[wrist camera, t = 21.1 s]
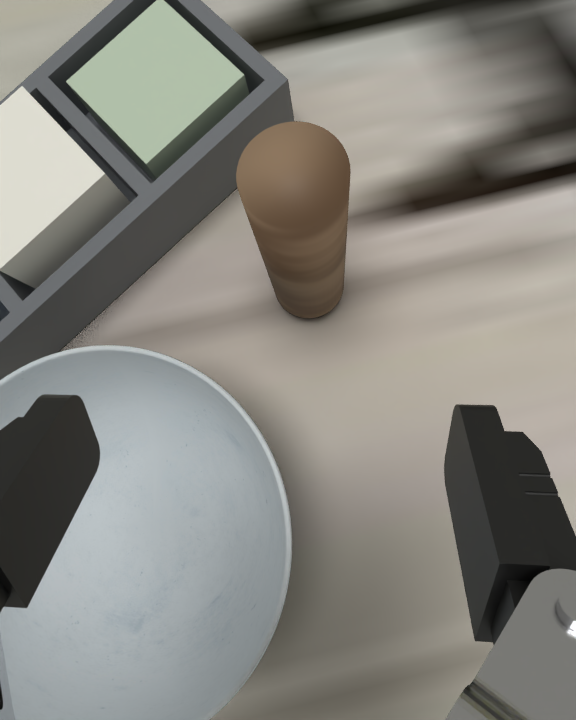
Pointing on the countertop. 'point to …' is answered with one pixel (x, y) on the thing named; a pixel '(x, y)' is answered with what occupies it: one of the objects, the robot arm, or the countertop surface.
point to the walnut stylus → (298, 212)
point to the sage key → (158, 88)
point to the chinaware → (151, 547)
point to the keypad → (132, 182)
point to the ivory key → (46, 192)
